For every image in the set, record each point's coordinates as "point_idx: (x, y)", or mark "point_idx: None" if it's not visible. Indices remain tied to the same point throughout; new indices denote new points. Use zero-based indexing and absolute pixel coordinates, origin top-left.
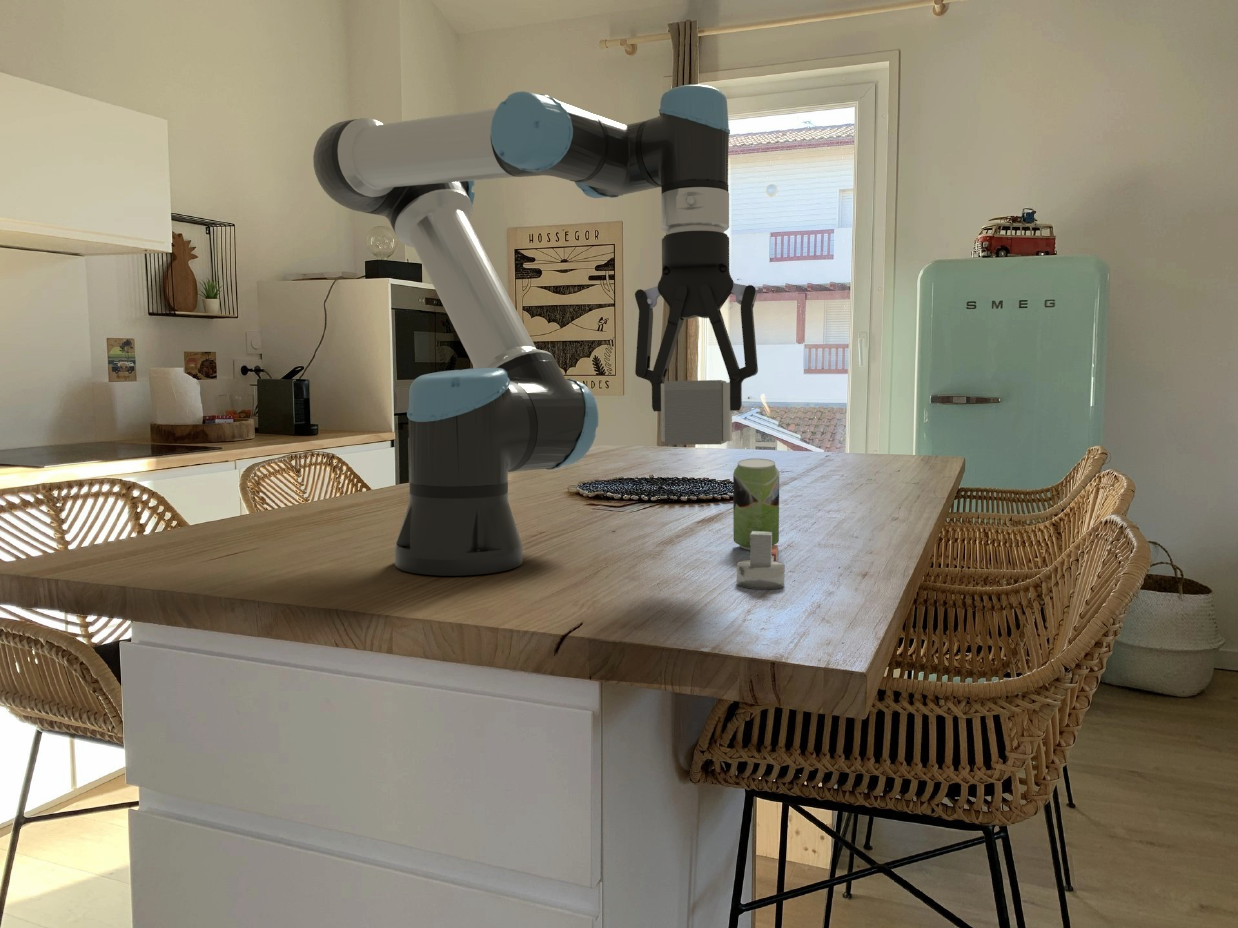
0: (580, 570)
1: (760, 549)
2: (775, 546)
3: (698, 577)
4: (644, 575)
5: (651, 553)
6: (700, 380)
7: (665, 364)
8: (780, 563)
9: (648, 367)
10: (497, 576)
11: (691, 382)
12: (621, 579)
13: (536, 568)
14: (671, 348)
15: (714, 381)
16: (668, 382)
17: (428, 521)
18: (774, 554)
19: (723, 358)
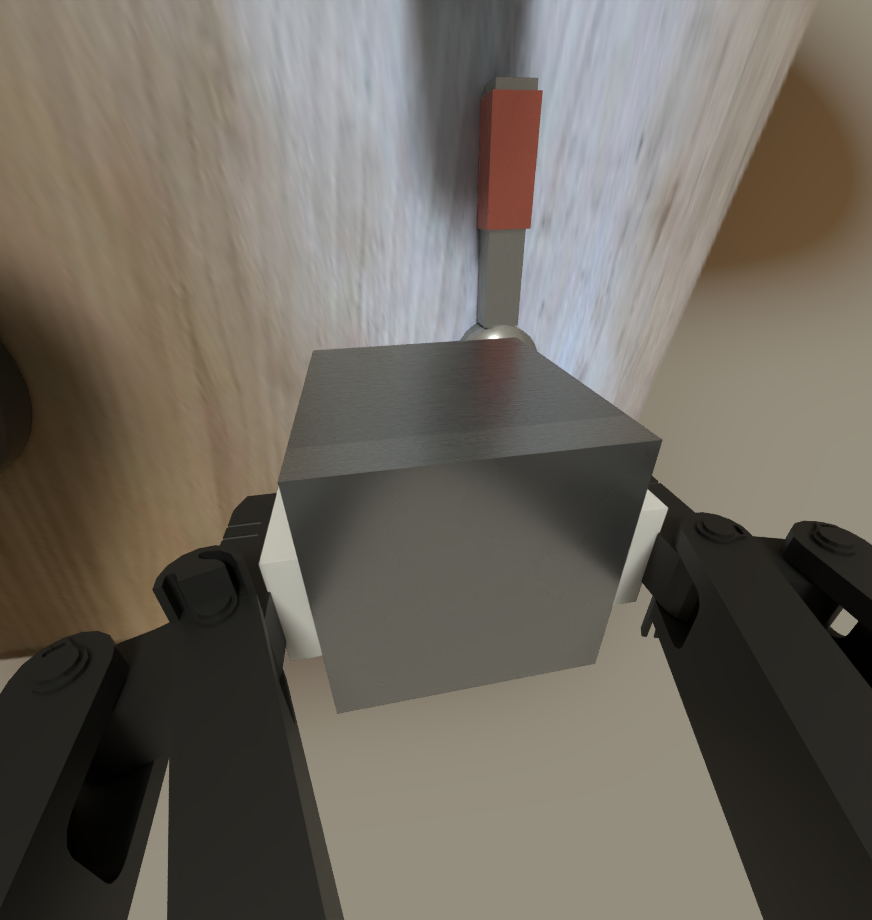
0: (157, 347)
1: None
2: (535, 115)
3: (389, 335)
4: (294, 350)
5: (198, 59)
6: (509, 679)
7: (307, 773)
8: (532, 346)
9: (100, 723)
10: (49, 445)
11: (466, 679)
12: (270, 394)
13: (58, 358)
14: (341, 918)
15: (567, 664)
16: (358, 703)
17: None
18: (527, 228)
19: (695, 724)
